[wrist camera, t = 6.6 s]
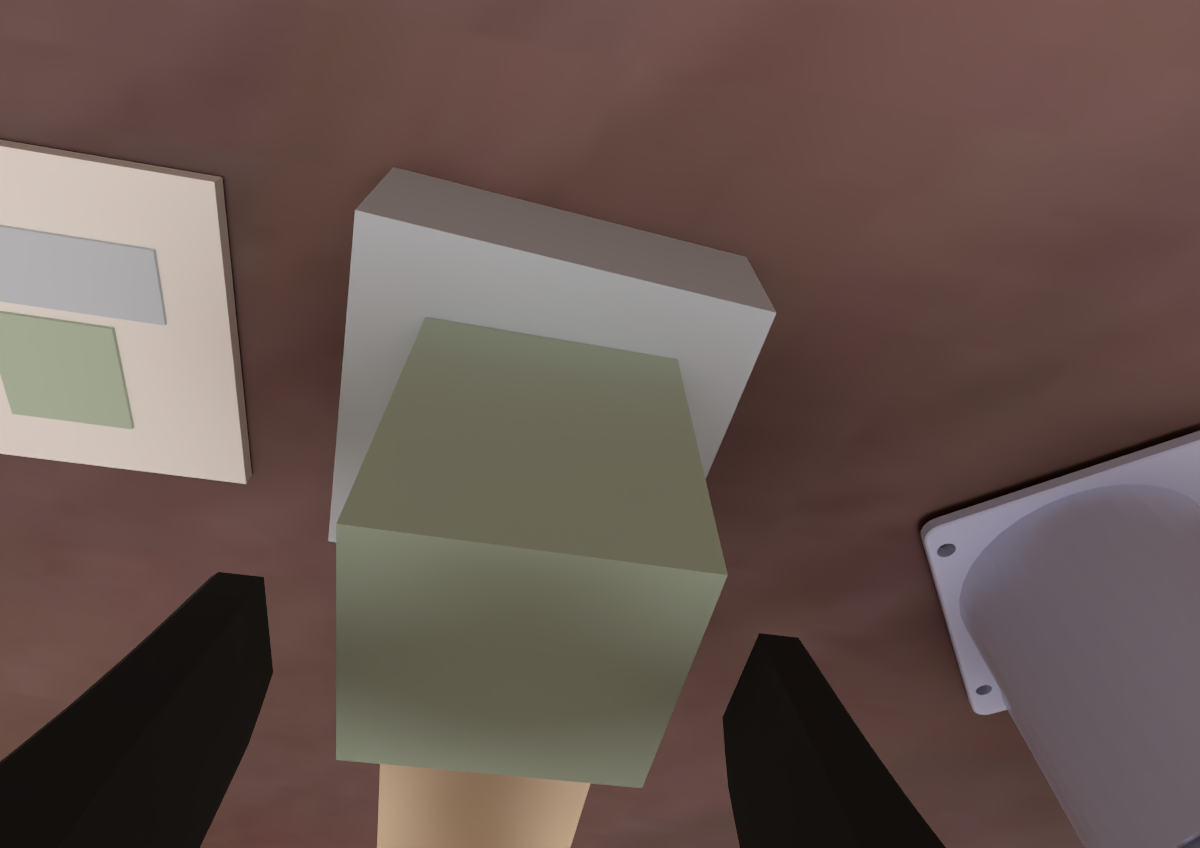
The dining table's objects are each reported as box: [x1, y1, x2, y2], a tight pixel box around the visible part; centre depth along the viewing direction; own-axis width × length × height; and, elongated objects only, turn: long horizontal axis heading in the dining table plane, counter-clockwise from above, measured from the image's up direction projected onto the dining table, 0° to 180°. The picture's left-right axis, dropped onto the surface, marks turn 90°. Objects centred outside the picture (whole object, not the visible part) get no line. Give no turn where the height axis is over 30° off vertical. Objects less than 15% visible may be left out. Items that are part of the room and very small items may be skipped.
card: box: [0, 139, 252, 484], centre depth 17 cm, size 8×8×1 cm
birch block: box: [377, 764, 590, 848], centre depth 21 cm, size 5×5×6 cm
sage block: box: [336, 317, 728, 788], centre depth 13 cm, size 5×5×6 cm
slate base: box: [328, 167, 776, 542], centre depth 17 cm, size 8×8×4 cm
